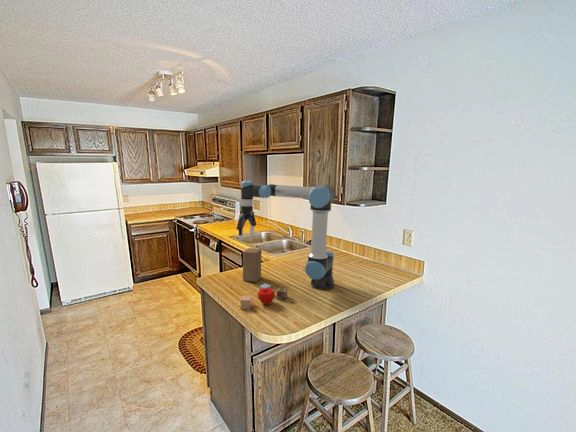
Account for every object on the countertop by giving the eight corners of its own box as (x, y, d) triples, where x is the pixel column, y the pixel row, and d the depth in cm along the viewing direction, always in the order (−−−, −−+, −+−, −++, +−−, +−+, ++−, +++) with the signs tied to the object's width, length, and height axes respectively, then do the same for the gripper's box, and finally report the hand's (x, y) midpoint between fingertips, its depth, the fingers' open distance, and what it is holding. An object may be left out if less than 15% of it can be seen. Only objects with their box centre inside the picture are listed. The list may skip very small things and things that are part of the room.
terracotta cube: (251, 304, 150) (251, 295, 149) (250, 309, 145) (250, 300, 144) (241, 304, 149) (241, 295, 149) (240, 308, 145) (240, 300, 144)
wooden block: (256, 282, 177) (257, 253, 174) (242, 281, 179) (242, 251, 176) (261, 276, 187) (261, 248, 184) (247, 275, 189) (247, 247, 185)
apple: (255, 305, 149) (255, 291, 147) (262, 298, 157) (262, 285, 155) (270, 308, 146) (270, 295, 144) (276, 301, 154) (277, 288, 152)
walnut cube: (287, 296, 160) (287, 288, 159) (285, 300, 155) (285, 292, 154) (278, 295, 161) (279, 287, 160) (276, 299, 156) (276, 291, 156)
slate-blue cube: (271, 293, 163) (271, 285, 162) (265, 296, 159) (265, 288, 158) (264, 291, 166) (265, 283, 165) (259, 294, 162) (259, 286, 161)
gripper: (251, 203, 189) (251, 232, 192) (230, 207, 166) (230, 241, 170) (261, 203, 186) (261, 234, 189) (241, 208, 163) (240, 242, 167)
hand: (246, 237), depth 180 cm, fingers open, 13 cm apart
